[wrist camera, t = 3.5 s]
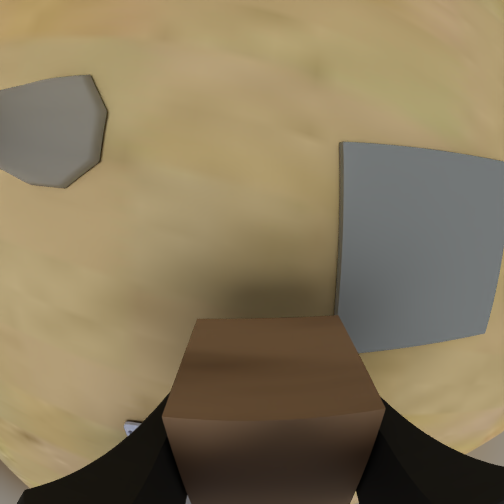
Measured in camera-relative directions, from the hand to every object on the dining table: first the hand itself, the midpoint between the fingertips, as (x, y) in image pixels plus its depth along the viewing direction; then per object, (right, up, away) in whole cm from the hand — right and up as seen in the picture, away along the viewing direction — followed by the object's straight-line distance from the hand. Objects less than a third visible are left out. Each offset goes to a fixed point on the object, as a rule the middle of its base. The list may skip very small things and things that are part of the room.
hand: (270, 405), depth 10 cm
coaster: (+10, +5, +7) cm, 13 cm away
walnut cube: (0, +1, +2) cm, 2 cm away
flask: (-12, +13, +5) cm, 18 cm away
